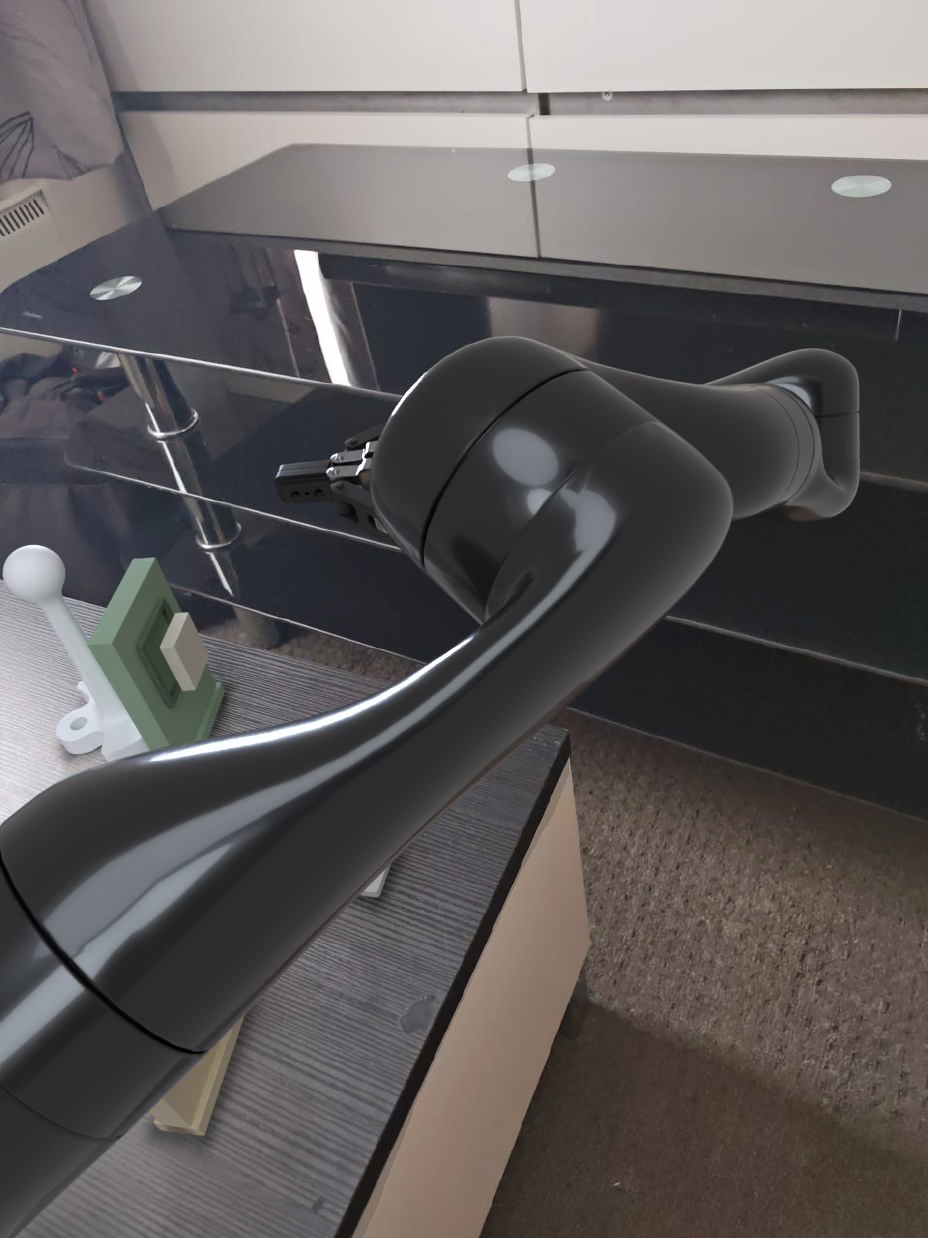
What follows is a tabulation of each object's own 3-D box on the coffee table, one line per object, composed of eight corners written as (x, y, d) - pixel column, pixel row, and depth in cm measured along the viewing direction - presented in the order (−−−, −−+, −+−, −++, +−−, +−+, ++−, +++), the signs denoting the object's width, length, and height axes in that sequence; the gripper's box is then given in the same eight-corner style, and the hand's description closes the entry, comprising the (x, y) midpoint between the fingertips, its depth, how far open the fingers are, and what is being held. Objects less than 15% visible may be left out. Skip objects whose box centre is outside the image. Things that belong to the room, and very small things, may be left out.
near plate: (257, 978, 63) (172, 846, 52) (204, 1136, 56) (94, 1020, 45) (217, 975, 64) (125, 843, 53) (160, 1130, 56) (41, 1015, 46)
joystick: (164, 748, 80) (63, 574, 67) (80, 790, 78) (-41, 619, 65) (132, 677, 88) (36, 507, 75) (55, 713, 86) (-58, 546, 73)
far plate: (225, 691, 85) (161, 556, 74) (194, 778, 77) (118, 642, 67) (195, 692, 85) (126, 559, 74) (161, 779, 78) (80, 645, 67)
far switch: (209, 655, 77) (188, 611, 74) (195, 690, 74) (173, 646, 71) (196, 656, 77) (174, 612, 74) (182, 691, 74) (159, 647, 71)
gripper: (530, 360, 62) (284, 387, 65) (525, 470, 52) (237, 495, 55) (540, 455, 67) (312, 476, 70) (538, 571, 57) (273, 590, 60)
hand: (279, 484), depth 62 cm, fingers closed
